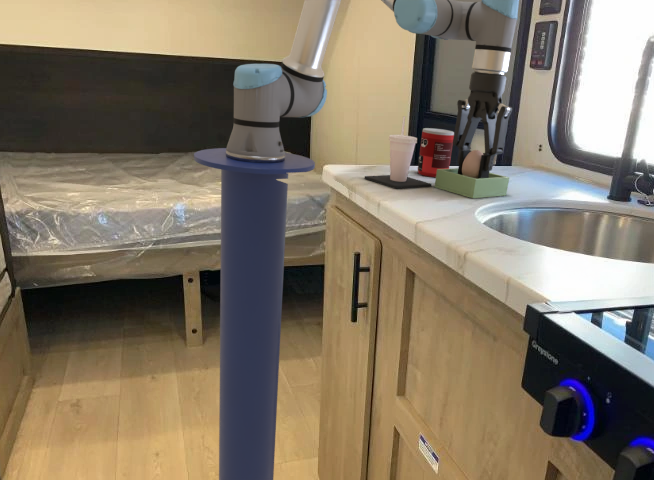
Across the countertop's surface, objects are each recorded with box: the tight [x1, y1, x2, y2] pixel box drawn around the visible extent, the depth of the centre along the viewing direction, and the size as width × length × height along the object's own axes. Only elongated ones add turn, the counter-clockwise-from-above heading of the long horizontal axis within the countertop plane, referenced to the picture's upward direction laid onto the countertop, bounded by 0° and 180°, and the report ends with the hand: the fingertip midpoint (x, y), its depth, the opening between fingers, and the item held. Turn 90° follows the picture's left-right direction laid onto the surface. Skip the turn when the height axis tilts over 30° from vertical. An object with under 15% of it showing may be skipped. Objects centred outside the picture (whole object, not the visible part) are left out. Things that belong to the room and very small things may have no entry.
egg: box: [462, 149, 484, 179], centre depth 134 cm, size 5×5×7 cm
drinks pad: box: [364, 174, 433, 190], centre depth 137 cm, size 11×11×1 cm
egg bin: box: [434, 167, 510, 199], centre depth 135 cm, size 12×12×4 cm
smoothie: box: [388, 115, 418, 182], centre depth 135 cm, size 6×6×14 cm
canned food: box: [417, 127, 455, 178], centre depth 150 cm, size 8×8×11 cm
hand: (471, 181), depth 135 cm, fingers closed on egg, 5 cm apart
